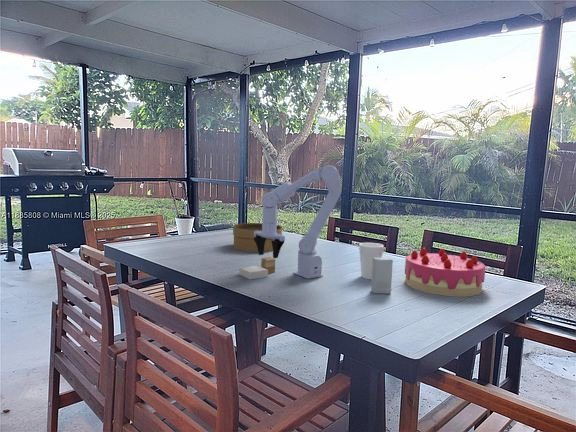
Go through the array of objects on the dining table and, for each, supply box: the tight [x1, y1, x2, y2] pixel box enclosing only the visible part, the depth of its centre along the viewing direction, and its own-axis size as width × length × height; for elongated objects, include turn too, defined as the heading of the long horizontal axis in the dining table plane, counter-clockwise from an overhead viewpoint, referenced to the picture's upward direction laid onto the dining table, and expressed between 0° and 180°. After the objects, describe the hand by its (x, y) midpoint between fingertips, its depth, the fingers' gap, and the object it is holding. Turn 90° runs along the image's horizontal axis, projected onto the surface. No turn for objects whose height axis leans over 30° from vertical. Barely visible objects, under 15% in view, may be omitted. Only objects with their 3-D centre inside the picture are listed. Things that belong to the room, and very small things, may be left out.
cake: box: [404, 247, 486, 297], centre depth 158 cm, size 28×28×12 cm
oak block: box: [260, 256, 276, 274], centre depth 168 cm, size 4×4×6 cm
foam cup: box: [358, 242, 385, 280], centre depth 166 cm, size 10×9×13 cm
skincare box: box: [370, 257, 394, 295], centre depth 146 cm, size 6×4×12 cm
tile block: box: [238, 265, 269, 280], centre depth 162 cm, size 8×8×3 cm
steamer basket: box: [232, 222, 283, 253], centre depth 217 cm, size 25×25×11 cm
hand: (268, 256), depth 168 cm, fingers open, 7 cm apart
